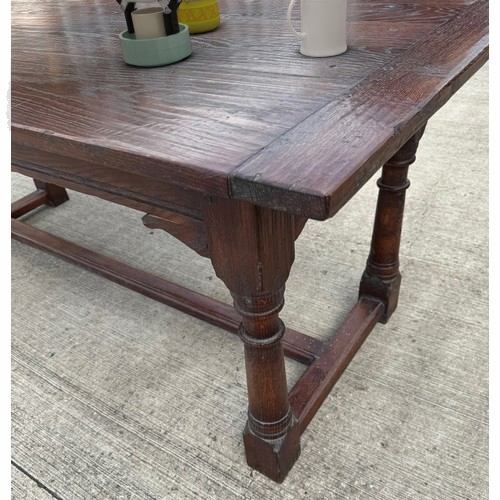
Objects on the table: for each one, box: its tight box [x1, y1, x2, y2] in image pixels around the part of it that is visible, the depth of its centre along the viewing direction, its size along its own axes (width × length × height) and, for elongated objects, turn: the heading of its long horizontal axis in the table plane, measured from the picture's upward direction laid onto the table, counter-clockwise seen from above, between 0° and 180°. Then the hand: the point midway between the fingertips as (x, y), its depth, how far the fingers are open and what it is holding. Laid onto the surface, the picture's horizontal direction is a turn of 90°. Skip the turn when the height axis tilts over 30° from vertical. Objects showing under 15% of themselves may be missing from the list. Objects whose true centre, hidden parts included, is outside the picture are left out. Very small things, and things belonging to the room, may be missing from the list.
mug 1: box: [177, 0, 221, 34], centre depth 112 cm, size 13×11×12 cm
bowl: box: [117, 23, 193, 68], centre depth 98 cm, size 13×13×5 cm
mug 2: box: [286, 0, 348, 58], centre depth 90 cm, size 12×8×12 cm
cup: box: [131, 5, 166, 40], centre depth 96 cm, size 7×7×8 cm
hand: (153, 33), depth 96 cm, fingers open, 9 cm apart
